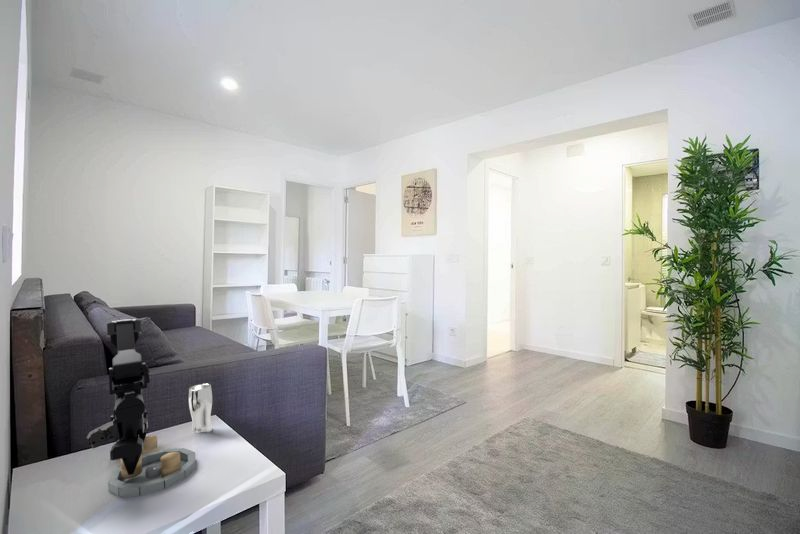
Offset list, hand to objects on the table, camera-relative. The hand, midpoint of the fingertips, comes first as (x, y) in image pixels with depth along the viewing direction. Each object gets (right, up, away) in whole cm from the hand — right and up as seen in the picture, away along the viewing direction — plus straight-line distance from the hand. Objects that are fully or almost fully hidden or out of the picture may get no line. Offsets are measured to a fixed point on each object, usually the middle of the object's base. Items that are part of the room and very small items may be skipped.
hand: (132, 469), depth 98 cm
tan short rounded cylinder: (+9, -2, +2) cm, 9 cm away
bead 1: (0, -1, 0) cm, 1 cm away
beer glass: (+3, -3, +29) cm, 30 cm away
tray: (+4, -3, +2) cm, 6 cm away
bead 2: (-5, -3, +14) cm, 16 cm away
